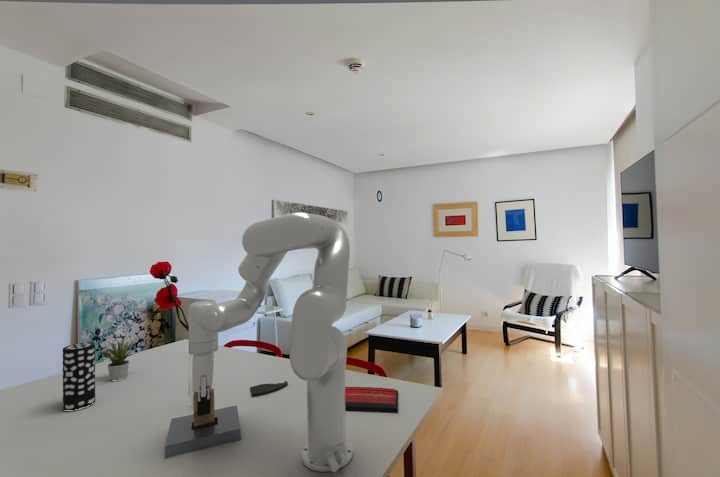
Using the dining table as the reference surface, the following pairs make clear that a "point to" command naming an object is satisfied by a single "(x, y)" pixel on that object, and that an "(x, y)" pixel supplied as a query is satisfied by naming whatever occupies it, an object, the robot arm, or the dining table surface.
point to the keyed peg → (204, 418)
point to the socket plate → (202, 432)
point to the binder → (371, 399)
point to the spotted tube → (78, 375)
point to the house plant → (118, 360)
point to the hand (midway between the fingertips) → (204, 410)
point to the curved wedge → (267, 388)
